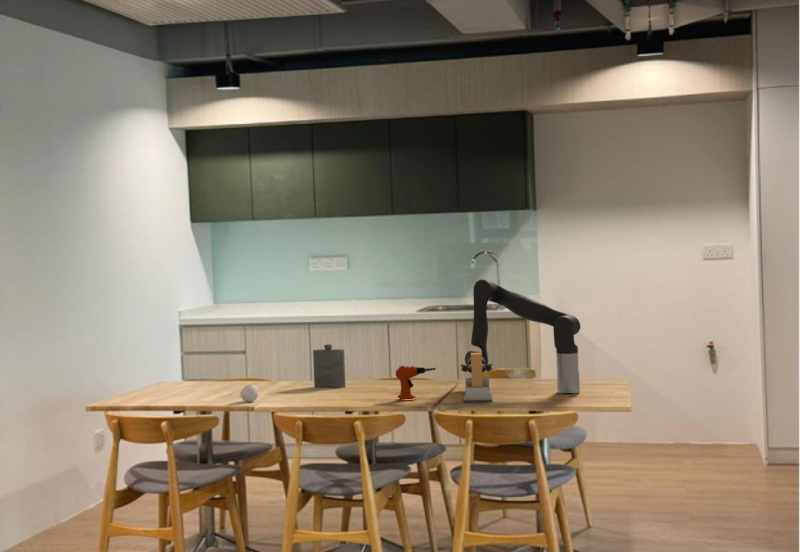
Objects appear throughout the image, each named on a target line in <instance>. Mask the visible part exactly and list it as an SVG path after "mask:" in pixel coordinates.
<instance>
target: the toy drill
mask: <svg viewBox="0 0 800 552" xmlns="http://www.w3.org/2000/svg"><path fill="white" fill-rule="evenodd" d="M436 370H437V368H436V367H430V368H428V367H427V368H425V367H423V366H422V367H418V366H413V365H412V366H404V365H401V366H399V367H398V368H397V369H396V371H395V376H396V378H397V379H398V380H399V382H400V394H398V396H397V399H398V398H400V399H413V398H416V397H417V396H415V395H413V394H412V393H411V389H412V388H413V387H414V383H413V382H412V380H411V379H412V378H414V377H416V376H419V375H421V374H425V372H429V371H436Z"/></svg>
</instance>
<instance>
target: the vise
mask: <svg viewBox="0 0 800 552" xmlns="http://www.w3.org/2000/svg"><path fill="white" fill-rule="evenodd" d="M464 389H465V390H464V391H465V392H464V393H465V394H463V397H462V398H463V399H462V400H463V402H462V403H464V404H465V403H469V404H470V403H493V394H492V393H491V392H490V386H489V387H466V386H465V388H464Z"/></svg>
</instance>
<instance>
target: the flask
mask: <svg viewBox="0 0 800 552" xmlns="http://www.w3.org/2000/svg"><path fill="white" fill-rule="evenodd" d="M332 348H333V345H332V344H330V343H329V344H328V343H327V344H324V348H320V349H314V350H312V355H313V358H312V361H313V382H314V383H313V385H314V388H316V389H317V388H318V389H341V388H342V387H343V388H345V387H346V364H345V363H346V362H345V359H346V358H345V349H343V348H333V349H332Z"/></svg>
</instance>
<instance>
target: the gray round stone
mask: <svg viewBox="0 0 800 552" xmlns="http://www.w3.org/2000/svg"><path fill="white" fill-rule="evenodd" d="M239 395H240V398H241V399H242V400H243V401H244V402H247V403H252V402H254V401H256V400H257V399H258V397H259V389H258V387H257V386H256V385H255V384H250V383H249V384H246V385H245V386H244V387H243V388H242V389H241V391H240V393H239Z"/></svg>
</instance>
